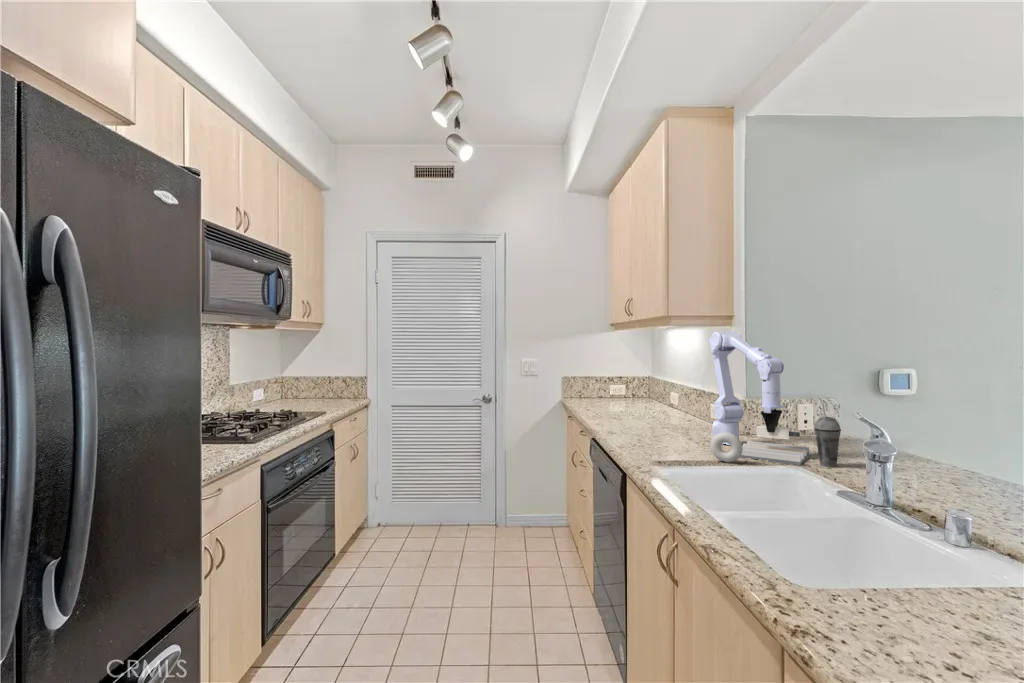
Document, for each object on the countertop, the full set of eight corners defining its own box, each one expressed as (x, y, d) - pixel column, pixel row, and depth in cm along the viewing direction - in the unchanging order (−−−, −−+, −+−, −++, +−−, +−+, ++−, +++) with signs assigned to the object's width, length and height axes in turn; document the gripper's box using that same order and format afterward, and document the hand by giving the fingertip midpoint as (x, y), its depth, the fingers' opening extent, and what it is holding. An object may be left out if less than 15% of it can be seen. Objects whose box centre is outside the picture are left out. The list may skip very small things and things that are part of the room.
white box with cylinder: (756, 436, 173) (756, 426, 173) (758, 435, 175) (758, 425, 175) (799, 440, 165) (798, 430, 165) (800, 438, 167) (800, 428, 167)
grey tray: (734, 457, 170) (734, 449, 170) (747, 448, 183) (747, 440, 183) (800, 465, 157) (800, 456, 157) (809, 455, 170) (809, 447, 170)
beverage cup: (846, 468, 152) (844, 404, 152) (820, 467, 153) (819, 404, 154) (835, 463, 159) (834, 401, 159) (811, 462, 160) (809, 401, 161)
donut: (743, 463, 161) (743, 432, 161) (741, 465, 158) (741, 434, 158) (712, 459, 167) (711, 430, 167) (709, 461, 164) (708, 431, 164)
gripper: (780, 394, 163) (781, 435, 163) (787, 391, 174) (788, 429, 174) (757, 393, 167) (757, 433, 167) (765, 390, 179) (766, 427, 179)
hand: (772, 431), depth 171 cm, fingers closed on white box with cylinder, 3 cm apart
